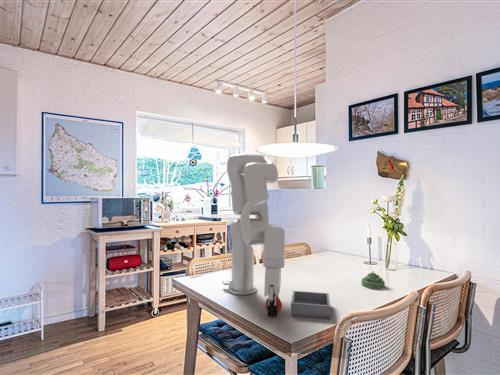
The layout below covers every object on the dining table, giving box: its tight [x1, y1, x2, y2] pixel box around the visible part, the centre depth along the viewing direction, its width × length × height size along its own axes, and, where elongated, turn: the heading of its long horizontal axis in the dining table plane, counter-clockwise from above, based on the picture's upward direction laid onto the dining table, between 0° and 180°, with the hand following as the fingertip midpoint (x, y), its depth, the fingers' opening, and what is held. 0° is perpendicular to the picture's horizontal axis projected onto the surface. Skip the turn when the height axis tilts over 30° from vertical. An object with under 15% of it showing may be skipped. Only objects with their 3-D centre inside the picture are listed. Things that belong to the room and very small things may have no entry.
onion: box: [264, 294, 283, 314], centre depth 111 cm, size 6×6×8 cm
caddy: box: [290, 290, 332, 320], centre depth 116 cm, size 14×14×4 cm
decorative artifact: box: [361, 270, 386, 290], centre depth 146 cm, size 10×7×10 cm
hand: (273, 312), depth 111 cm, fingers closed on onion, 5 cm apart
